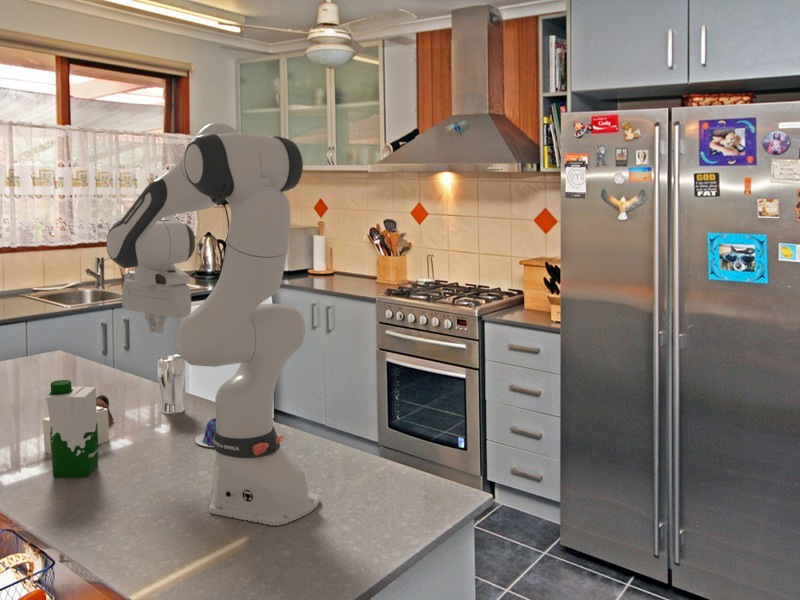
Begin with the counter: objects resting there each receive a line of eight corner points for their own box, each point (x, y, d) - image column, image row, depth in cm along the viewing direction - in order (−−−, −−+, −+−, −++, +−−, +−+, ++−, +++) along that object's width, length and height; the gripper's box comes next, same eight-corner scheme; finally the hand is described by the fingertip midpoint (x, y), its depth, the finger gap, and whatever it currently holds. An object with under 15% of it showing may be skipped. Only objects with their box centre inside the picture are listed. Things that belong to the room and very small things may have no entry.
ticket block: (110, 441, 180) (108, 408, 178) (61, 457, 169) (59, 422, 167) (93, 436, 183) (91, 403, 182) (44, 451, 172) (42, 417, 171)
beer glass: (154, 414, 201) (152, 360, 198) (166, 406, 207) (164, 354, 205) (178, 415, 199) (176, 361, 197) (190, 408, 206) (188, 355, 204)
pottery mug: (108, 431, 188) (88, 406, 185) (78, 444, 190) (58, 420, 187) (125, 405, 199) (107, 381, 196) (97, 418, 201) (79, 395, 198)
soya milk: (62, 464, 165) (57, 377, 162) (104, 463, 166) (99, 376, 163) (46, 480, 156) (41, 388, 153) (91, 479, 157) (86, 388, 154)
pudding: (213, 453, 174) (213, 432, 173) (185, 441, 182) (184, 420, 181) (255, 441, 182) (254, 420, 182) (226, 429, 190) (226, 409, 190)
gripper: (113, 272, 176) (116, 329, 178) (173, 279, 166) (175, 339, 168) (135, 269, 181) (137, 325, 184) (195, 276, 171) (196, 335, 173)
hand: (156, 332), depth 176 cm, fingers closed
